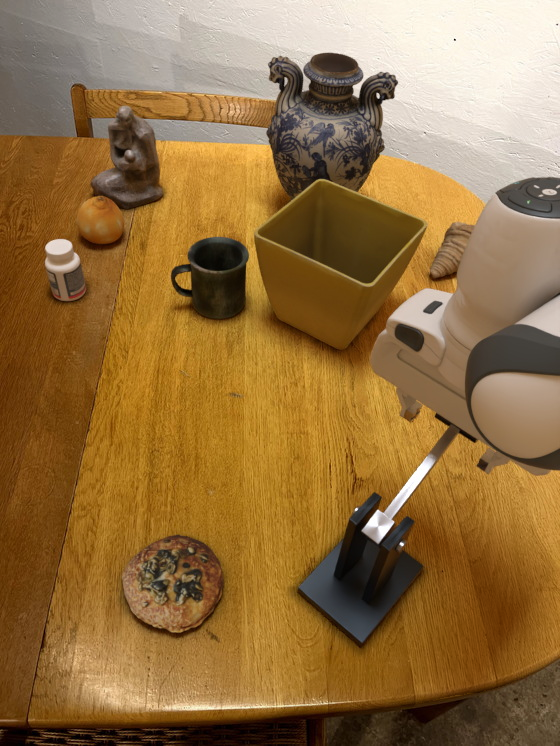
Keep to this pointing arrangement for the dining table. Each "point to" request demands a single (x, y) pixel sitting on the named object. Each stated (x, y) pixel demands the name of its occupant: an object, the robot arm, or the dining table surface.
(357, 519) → the bracket
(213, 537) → the dining table surface
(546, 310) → the robot arm
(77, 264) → the pill bottle
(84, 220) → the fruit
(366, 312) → the flower pot
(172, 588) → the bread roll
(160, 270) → the dining table surface
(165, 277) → the dining table surface
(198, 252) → the mug
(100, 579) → the dining table surface
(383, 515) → the lever
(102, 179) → the figurine
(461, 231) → the seashell
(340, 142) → the decorative vase
